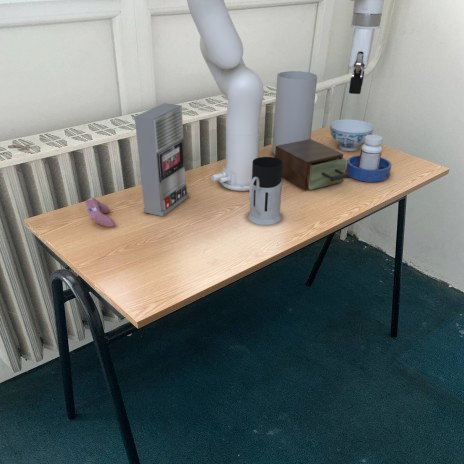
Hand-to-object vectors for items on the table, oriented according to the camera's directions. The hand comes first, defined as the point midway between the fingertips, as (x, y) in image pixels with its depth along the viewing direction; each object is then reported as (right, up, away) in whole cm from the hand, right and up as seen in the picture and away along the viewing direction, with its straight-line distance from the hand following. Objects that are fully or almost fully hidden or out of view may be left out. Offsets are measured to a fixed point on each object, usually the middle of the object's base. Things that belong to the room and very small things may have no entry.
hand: (355, 89), depth 139 cm
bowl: (+7, -21, +13) cm, 26 cm away
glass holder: (-28, -41, -13) cm, 51 cm away
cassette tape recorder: (-53, -35, -5) cm, 64 cm away
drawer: (-10, -24, +7) cm, 27 cm away
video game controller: (-70, -41, -13) cm, 82 cm away
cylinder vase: (-15, -10, +28) cm, 33 cm away
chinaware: (+6, -6, +34) cm, 35 cm away
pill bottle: (+7, -21, +13) cm, 26 cm away
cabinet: (-12, -22, +11) cm, 28 cm away
